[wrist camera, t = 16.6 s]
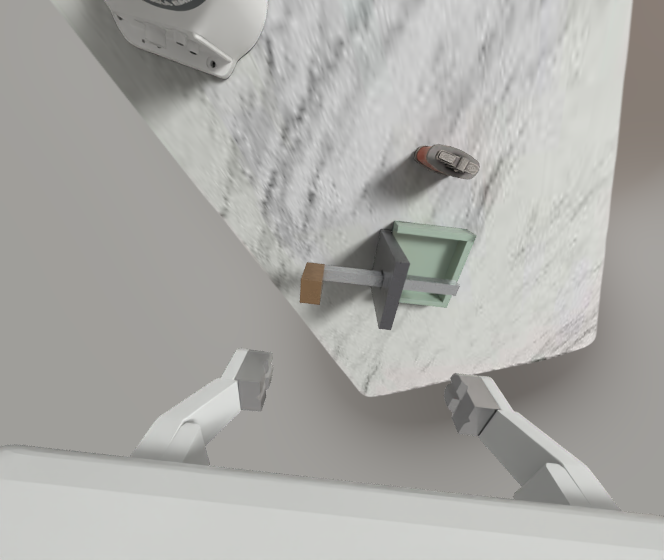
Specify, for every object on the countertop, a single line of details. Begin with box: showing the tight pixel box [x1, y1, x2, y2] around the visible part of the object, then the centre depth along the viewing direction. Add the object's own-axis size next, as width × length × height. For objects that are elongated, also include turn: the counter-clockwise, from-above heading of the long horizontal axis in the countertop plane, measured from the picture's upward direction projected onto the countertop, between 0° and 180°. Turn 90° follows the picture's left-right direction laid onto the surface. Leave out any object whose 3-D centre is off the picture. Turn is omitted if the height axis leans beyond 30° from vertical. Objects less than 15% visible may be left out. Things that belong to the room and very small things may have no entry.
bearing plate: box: [371, 229, 410, 330], centre depth 43 cm, size 2×12×16 cm, turn 174°
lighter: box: [414, 144, 480, 179], centre depth 37 cm, size 8×3×10 cm, turn 70°
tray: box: [392, 221, 476, 308], centre depth 48 cm, size 14×16×4 cm
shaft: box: [300, 262, 460, 305], centre depth 38 cm, size 26×4×8 cm, turn 84°
